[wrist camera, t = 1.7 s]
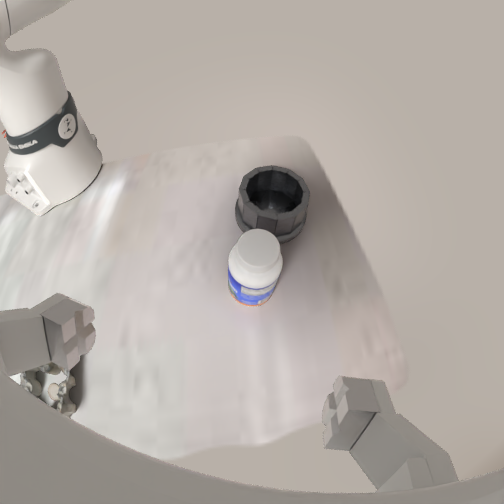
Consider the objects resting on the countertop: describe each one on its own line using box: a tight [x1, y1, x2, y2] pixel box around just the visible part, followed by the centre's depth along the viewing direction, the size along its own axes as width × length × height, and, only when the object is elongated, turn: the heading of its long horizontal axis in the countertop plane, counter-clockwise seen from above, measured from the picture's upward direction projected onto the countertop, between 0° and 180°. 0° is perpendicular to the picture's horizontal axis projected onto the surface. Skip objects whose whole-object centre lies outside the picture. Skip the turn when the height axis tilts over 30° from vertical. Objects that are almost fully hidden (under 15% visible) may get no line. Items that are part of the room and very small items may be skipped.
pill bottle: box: [228, 229, 283, 307], centre depth 31 cm, size 5×5×10 cm
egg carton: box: [20, 362, 76, 418], centre depth 25 cm, size 11×8×4 cm
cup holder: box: [235, 165, 310, 244], centre depth 38 cm, size 10×10×5 cm
